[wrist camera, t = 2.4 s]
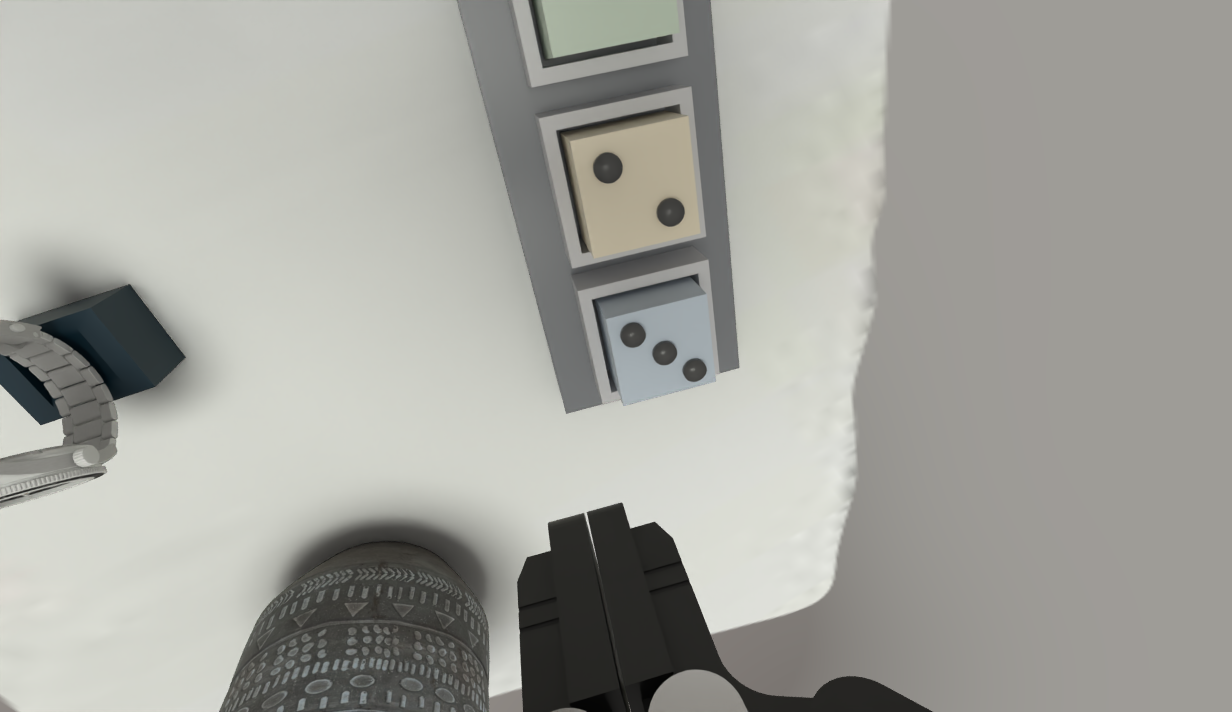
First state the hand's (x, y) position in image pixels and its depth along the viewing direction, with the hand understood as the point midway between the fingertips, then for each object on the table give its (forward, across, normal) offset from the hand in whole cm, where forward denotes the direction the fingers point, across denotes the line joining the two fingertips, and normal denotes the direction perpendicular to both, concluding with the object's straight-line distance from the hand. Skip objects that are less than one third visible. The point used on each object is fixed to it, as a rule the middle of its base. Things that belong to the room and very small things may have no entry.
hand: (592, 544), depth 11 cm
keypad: (+22, -5, -3) cm, 23 cm away
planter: (+23, +16, +22) cm, 35 cm away
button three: (+19, -5, +5) cm, 21 cm away
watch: (+22, +22, 0) cm, 31 cm away
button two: (+19, -5, -3) cm, 20 cm away
